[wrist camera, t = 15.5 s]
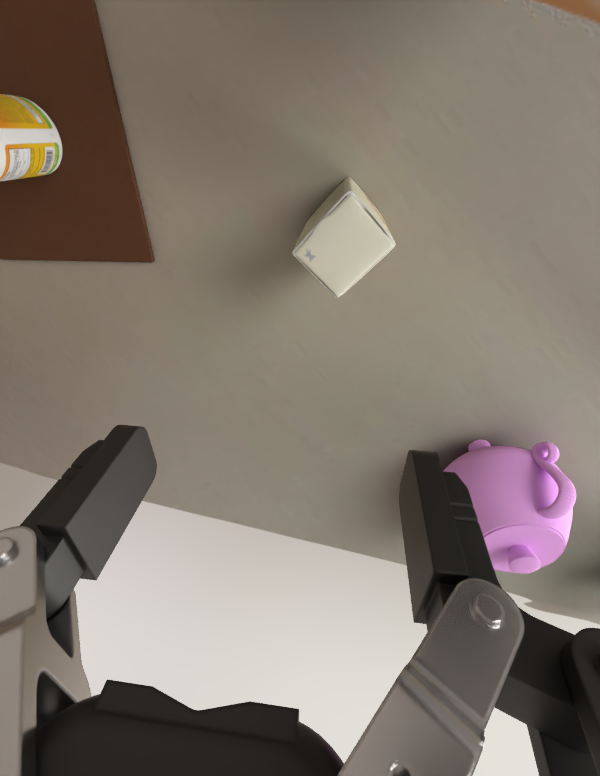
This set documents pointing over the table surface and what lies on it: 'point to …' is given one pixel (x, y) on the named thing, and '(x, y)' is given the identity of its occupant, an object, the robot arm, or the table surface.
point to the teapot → (518, 502)
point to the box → (343, 239)
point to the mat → (69, 141)
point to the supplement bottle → (26, 140)
